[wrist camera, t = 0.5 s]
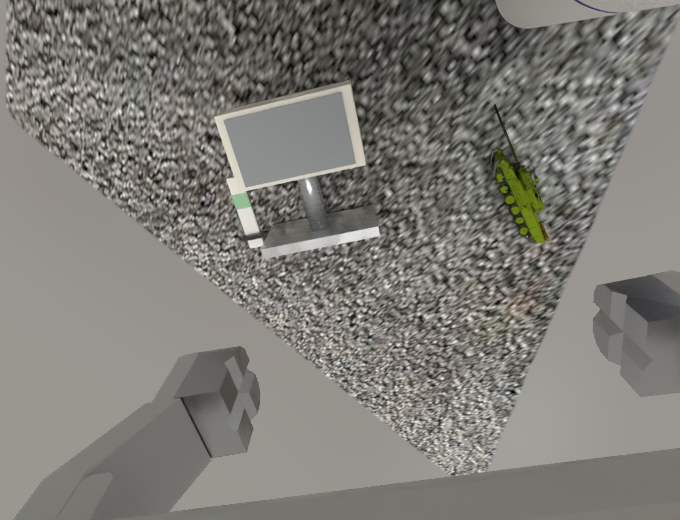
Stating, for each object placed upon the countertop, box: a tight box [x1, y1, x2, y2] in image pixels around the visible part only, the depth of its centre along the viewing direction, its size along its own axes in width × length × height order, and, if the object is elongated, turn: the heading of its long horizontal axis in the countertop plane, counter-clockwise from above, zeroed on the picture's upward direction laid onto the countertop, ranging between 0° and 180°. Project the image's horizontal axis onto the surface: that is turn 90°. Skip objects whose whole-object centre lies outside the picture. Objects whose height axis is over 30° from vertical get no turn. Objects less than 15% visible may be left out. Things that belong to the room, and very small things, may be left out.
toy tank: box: [490, 100, 550, 243], centre depth 49 cm, size 7×19×10 cm
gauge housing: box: [214, 80, 366, 248], centre depth 48 cm, size 18×18×10 cm
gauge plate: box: [243, 176, 380, 259], centre depth 50 cm, size 11×18×8 cm, turn 103°
